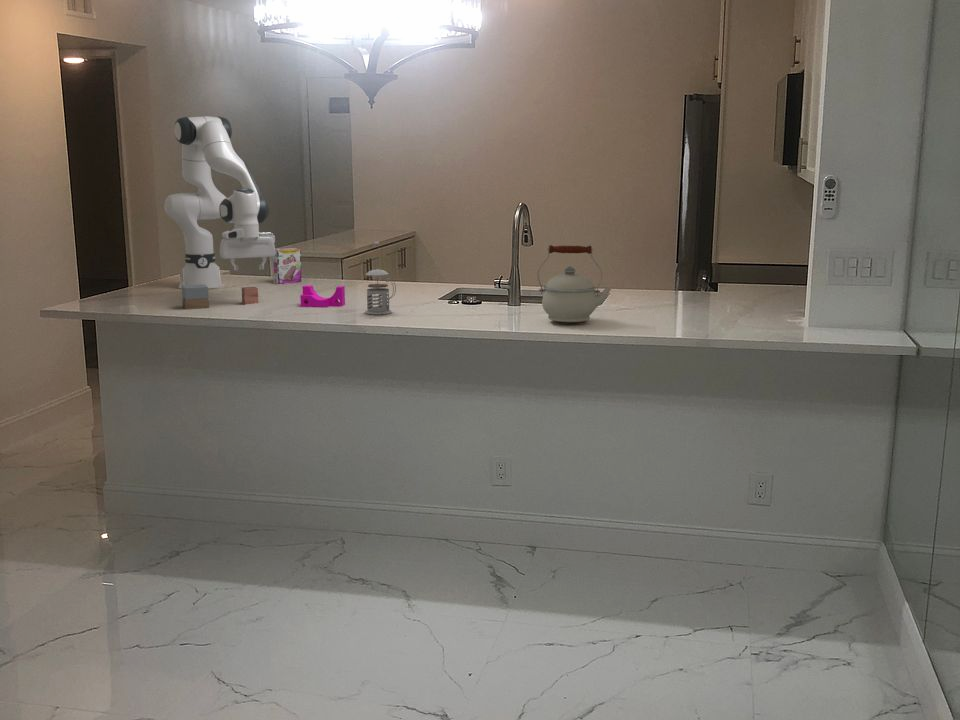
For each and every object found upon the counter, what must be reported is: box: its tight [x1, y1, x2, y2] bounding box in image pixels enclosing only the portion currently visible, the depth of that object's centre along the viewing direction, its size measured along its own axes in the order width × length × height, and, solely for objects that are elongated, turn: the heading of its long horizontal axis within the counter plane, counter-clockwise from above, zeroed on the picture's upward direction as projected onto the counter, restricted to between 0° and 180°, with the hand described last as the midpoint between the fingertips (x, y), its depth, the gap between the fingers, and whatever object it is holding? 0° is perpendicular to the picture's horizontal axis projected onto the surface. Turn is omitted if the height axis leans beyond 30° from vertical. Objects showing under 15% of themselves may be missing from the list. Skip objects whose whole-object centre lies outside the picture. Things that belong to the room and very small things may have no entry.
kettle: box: [536, 244, 612, 323], centre depth 317 cm, size 25×18×25 cm
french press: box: [364, 241, 397, 315], centre depth 331 cm, size 10×12×25 cm
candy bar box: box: [272, 247, 302, 285], centre depth 401 cm, size 11×5×16 cm, turn 130°
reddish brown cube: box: [241, 286, 259, 306], centre depth 354 cm, size 5×5×6 cm
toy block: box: [300, 284, 346, 308], centre depth 347 cm, size 15×6×8 cm, turn 80°
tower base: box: [181, 296, 210, 310], centre depth 345 cm, size 8×8×4 cm
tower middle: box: [181, 285, 210, 299], centre depth 344 cm, size 8×8×4 cm
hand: (248, 269), depth 352 cm, fingers open, 8 cm apart
